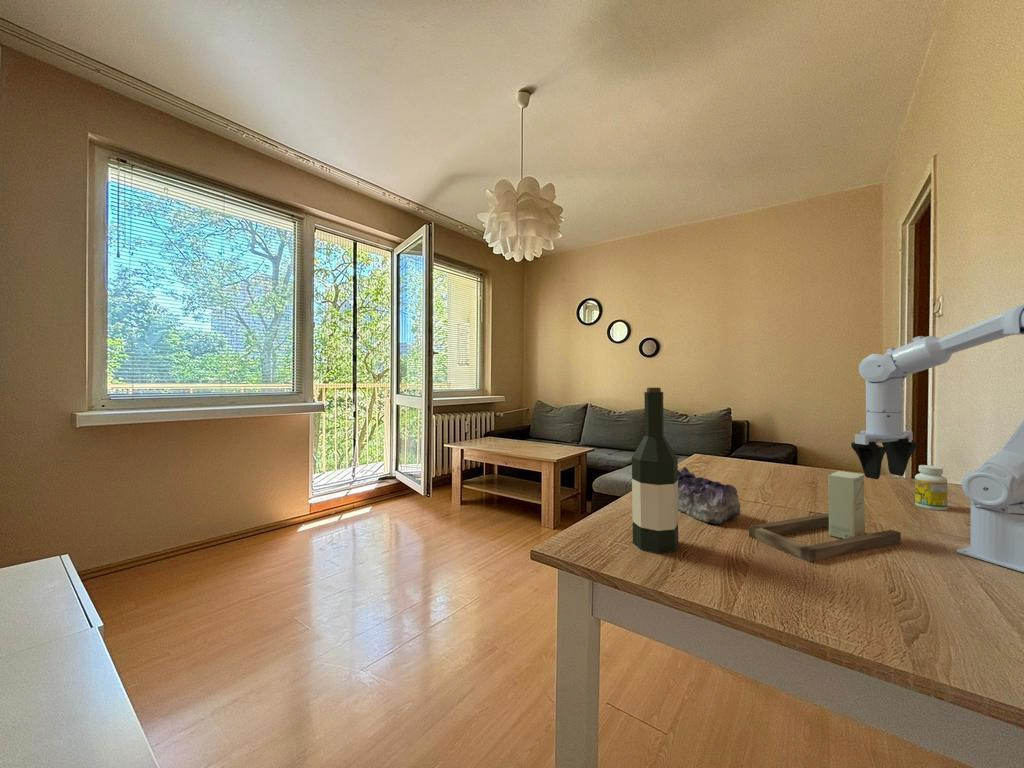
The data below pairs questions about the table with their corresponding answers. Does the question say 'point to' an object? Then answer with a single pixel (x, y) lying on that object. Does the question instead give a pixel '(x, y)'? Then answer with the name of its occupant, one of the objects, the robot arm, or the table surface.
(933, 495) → the supplement bottle
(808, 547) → the cradle
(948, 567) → the table surface
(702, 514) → the geode
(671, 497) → the wine bottle
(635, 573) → the table surface
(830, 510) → the skincare box
